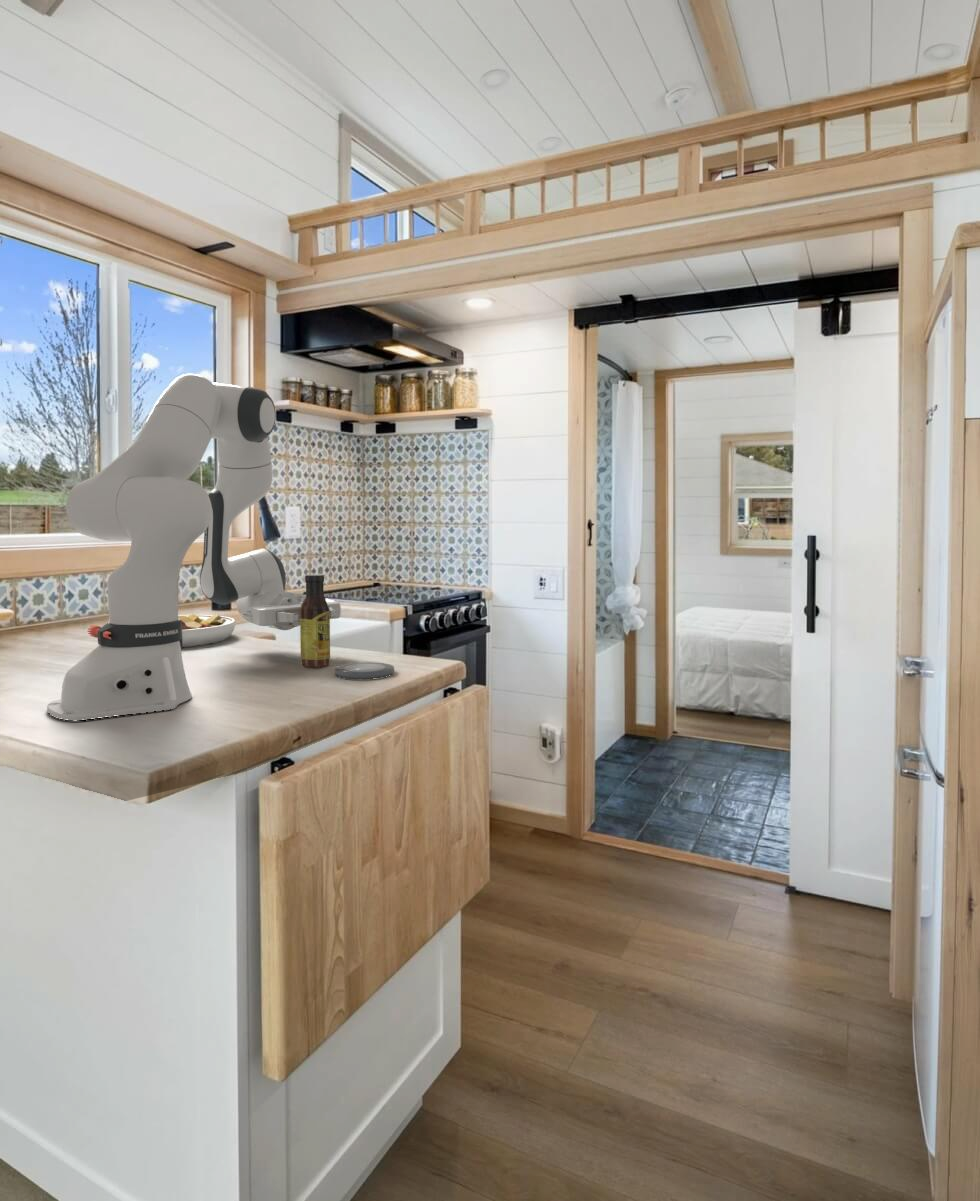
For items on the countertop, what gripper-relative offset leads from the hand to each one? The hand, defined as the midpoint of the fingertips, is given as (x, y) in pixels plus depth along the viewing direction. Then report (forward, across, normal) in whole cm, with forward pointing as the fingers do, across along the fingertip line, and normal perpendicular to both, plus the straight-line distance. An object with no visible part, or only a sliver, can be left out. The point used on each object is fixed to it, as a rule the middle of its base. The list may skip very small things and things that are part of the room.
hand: (315, 616), depth 164 cm
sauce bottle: (0, 0, +11) cm, 11 cm away
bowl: (-56, -8, +11) cm, 57 cm away
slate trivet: (+14, +3, +11) cm, 18 cm away
